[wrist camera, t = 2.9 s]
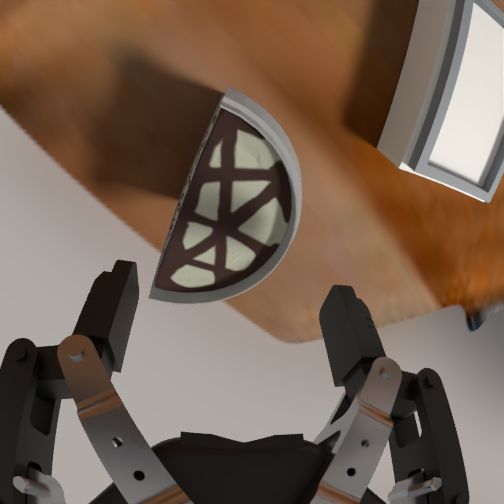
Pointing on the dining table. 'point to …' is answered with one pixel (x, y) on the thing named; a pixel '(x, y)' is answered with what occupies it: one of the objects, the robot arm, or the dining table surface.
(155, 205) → the dining table surface
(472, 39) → the base
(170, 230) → the food container
